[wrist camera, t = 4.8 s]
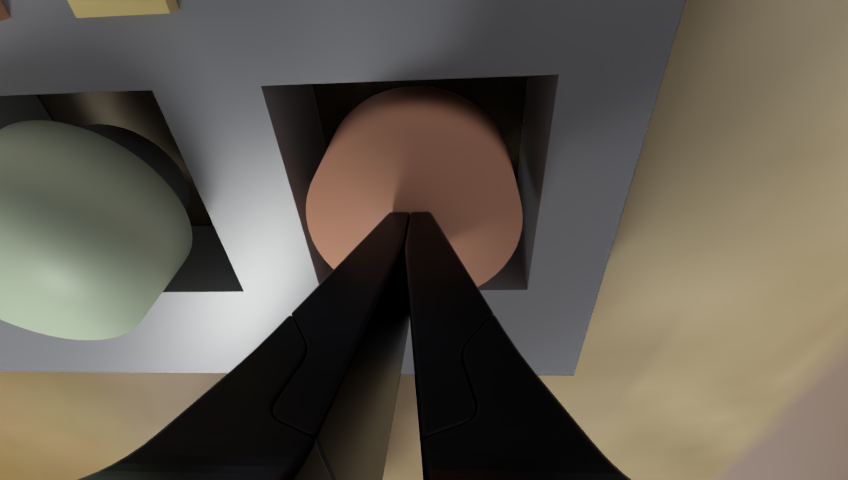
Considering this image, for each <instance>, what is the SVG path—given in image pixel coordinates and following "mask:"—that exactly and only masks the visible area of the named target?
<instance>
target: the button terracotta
mask: <svg viewBox="0 0 848 480" xmlns="http://www.w3.org/2000/svg"><path fill="white" fill-rule="evenodd" d="M425 211H428V212H431V213H432V215H433V216H434V218H435V220H436V221H437V223H438V224H439V226H440V228H441V229H442V231H443V233H444V234H445V236H446V237H447V239H448V241H449V242H450V244H451V245H452V247H453V249H454V250H455V252H456V253H457V255H458V257H459V258H460V260H461V261H462V263H463V265H464V266H465V268H466V270H467V271H468V273H469V274H470V276H471V278H472V279H473V281H474V282H475V284H476V286H477V287H479V286H480V285H482V284H484V283H485V282H487V281H488V280H489V279H491V278H492V277H493V276H495V275H496V274H497V273H498V272H499V271H500V270H501V269H502V268H503V267H504V266H505V264H506V263H507V262H508V260H509V259H510V258H511V256H512V254H513V253H514V251H515V249H516V247H517V244H518V241H519V239H520V235H521V230H522V221H523V213H522V205H521V200H520V196H519V192H518V188H517V184H516V180H515V175H514V171H513V167H512V163H511V159H510V155H509V152H508V148H507V145H506V142H505V140H504V138H503V136H502V134H501V132H500V130H499V129H498V127H497V126H496V124H495V123H494V122H493V121H492V119H491V118H490V117H489V116H488V115H487V114H486V113H485V112H484V111H483V110H481V109H480V108H479V107H478V106H477V105H475V104H474V103H472V102H470V101H469V100H467V99H466V98H464V97H461V96H459V95H457V94H455V93H452V92H449V91H446V90H442V89H438V88H432V87H425V86H409V87H399V88H395V89H391V90H387V91H384V92H381V93H379V94H376V95H374V96H372V97H370V98H368V99H367V100H365V101H363V102H362V103H360V104H359V105H358V106H356V107H355V108H354V109H353V110H352V111H351V112H350V113H349V114H348V115H347V116H346V117H345V118H344V119H343V121H342V122H341V124H340V125H339V126H338V128H337V130H336V132H335V134H334V136H333V138H332V140H331V142H330V144H329V146H328V148H327V151H326V153H325V155H324V157H323V159H322V161H321V163H320V165H319V167H318V169H317V171H316V174H315V176H314V178H313V180H312V182H311V184H310V188H309V191H308V194H307V201H306V220H307V225H308V230H309V232H310V235H311V238H312V241H313V242H314V244H315V246H316V248H317V250H318V251H319V253H320V254H321V256H322V257H323V258H324V260H325V261H326V262H327V263H328V264H329V265H330V266H331V267H332V268H333V269H335V268H336V267H337V266H338V265H339V264H340V263H341V262H342V261H343V260H344V259H345V258H346V257H347V255H348V254H349V253H350V252H351V251H352V250H353V249H354V248H355V247H356V246H357V245H358V244H359V243H360V242H361V241H362V240H363V239H364V238H365V237H366V236H367V235H368V234H369V233H370V232H371V231H372V230H373V229H374V228H375V227H376V226H377V225H378V224H379V223H380V222H381V220H382V219H383V218H384V217H385V216H386V215H387V214H388V213H390V212H408V213H409V214H411V213H412V212H425Z"/></svg>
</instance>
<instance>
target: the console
mask: <svg viewBox="0 0 848 480" xmlns="http://www.w3.org/2000/svg"><path fill="white" fill-rule="evenodd" d="M685 1H686V0H0V129H2V128H4V127H6V126H8V125H10V124H14V123H17V122H21V121H30V120H46V121H52V119H51V118H50V116H49V115H48V113H47V111H46V110H45V108H44V107H43V105H42V103H41V102H40V100H39V99H38V97H37V96H36V94H62V93H88V92H114V91H141V90H152V91H153V94H154V96H155V98H156V100H157V102H158V104H159V107H160V109H161V111H162V113H163V115H164V118H165V120H166V122H167V124H168V126H169V129H170V131H171V133H172V135H173V137H174V140H175V142H176V144H177V146H178V148H179V150H180V153H181V155H182V157H183V159H184V161H185V164H186V166H187V168H188V170H189V172H190V175H191V177H192V179H193V181H194V183H195V186H196V188H197V190H198V192H199V194H200V197H201V199H202V201H203V203H204V205H205V207H206V210H207V212H208V214H209V216H210V218H211V221H212V223H213V225H214V226H191V228H192V247H191V250H190V253H189V255H188V257H187V258H186V260H185V262H184V263H183V264H182V266H181V267H180V268H179V270H178V271H177V273H176V274H175V275H174V277H173V278H172V280H171V281H170V282H169V284H168V285H167V286H166V288H165V289H164V291H163V292H162V293H161V295H160V296H159V298H158V299H157V300H156V302H155V303H154V304H153V306H152V307H151V309H150V310H149V311H148V313H147V314H146V316H145V317H144V318H143V320H142V321H141V322H140V323H139V324H138V326H137V327H136V328H134V329H133V330H131V331H130V332H128V333H126V334H124V335H121V336H118V337H115V338H111V339H104V340H73V339H65V338H59V337H54V336H49V335H45V334H41V333H37V332H34V331H30V330H27V329H24V328H21V327H18V326H16V325H13V324H10V323H8V322H5V321H3V320H1V319H0V372H133V373H229V372H230V371H231V370H233V369H234V368H235V367H236V366H237V365H238V364H239V363H240V362H242V361H243V360H244V359H245V358H246V357H247V356H248V355H249V354H251V353H252V352H253V351H254V350H255V349H256V348H257V347H258V346H259V345H260V344H261V343H262V342H263V341H264V340H265V339H266V338H267V337H268V336H269V335H270V334H271V333H272V332H273V331H274V330H275V329H276V328H277V327H278V326H279V325H280V324H281V323H282V322H283V321H284V320H285V319H286V318H287V317H288V316H292V312H293V311H294V310H295V309H296V308H297V307H298V306H299V305H300V304H301V303H302V302H303V301H304V300H305V299H306V298H307V297H308V296H309V295H310V294H311V293H312V292H313V291H314V289H315V288H316V287H317V286H318V285H319V284H320V283H321V282H322V281H323V280H324V279H325V278H326V277H327V276H328V275H329V274H330V273H331V272H332V271H333V270H334V269H333V268H332V267H331V266H330V265H329V264H328V263H327V262H326V261H325V260H324V258H323V257H322V256H321V254H320V253H319V251H318V250H317V248H316V246H315V244H314V242H313V241H312V238H311V235H310V232H309V230H308V225H307V220H306V201H307V194H308V191H309V188H310V184H311V182H312V180H313V178H314V176H315V174H316V171H317V169H318V167H319V165H320V163H321V161H322V159H323V157H324V155H325V153H326V151H327V149H326V144H325V140H324V135H323V130H322V126H321V121H320V116H319V112H318V107H317V102H316V98H315V93H314V88H313V84H324V83H350V82H376V81H402V80H429V79H455V78H481V77H507V76H528V78H527V88H526V98H525V108H524V117H523V127H522V137H521V147H520V157H519V167H518V177H517V188H518V192H519V196H520V200H521V205H522V213H523V221H522V230H521V235H520V239H519V241H518V244H517V247H516V249H515V251H514V253H513V254H512V256H511V258H510V259H509V260H508V262H507V263H506V264H505V266H504V267H503V268H502V269H501V270H500V271H499V272H498V273H497V274H496V275H495V276H493V277H492V278H491V279H489V280H488V281H487V282H485V283H484V284H482V285H480V286H479V287H478V289H479V290H480V292H481V294H482V295H483V297H484V298H485V300H486V302H487V303H488V305H489V307H490V308H491V310H492V311H493V314H494V315H495V316H496V317H497V319H498V321H499V322H500V324H501V325H502V327H503V329H504V330H505V332H506V333H507V335H508V336H509V338H510V339H511V341H512V342H513V344H514V345H515V347H516V348H517V349H518V351H519V352H520V354H521V355H522V356H523V358H524V359H525V360H526V361H527V363H528V364H529V365H530V367H531V368H532V369H533V370H534V372H535V373H536V374H537V375H561V376H574V372H575V369H576V366H577V362H578V359H579V356H580V352H581V349H582V346H583V342H584V339H585V336H586V332H587V329H588V325H589V322H590V319H591V315H592V312H593V309H594V305H595V302H596V299H597V295H598V292H599V289H600V285H601V282H602V279H603V275H604V272H605V269H606V265H607V262H608V259H609V255H610V252H611V249H612V245H613V242H614V239H615V235H616V232H617V228H618V225H619V222H620V218H621V215H622V212H623V208H624V205H625V202H626V198H627V195H628V192H629V188H630V185H631V182H632V178H633V175H634V172H635V168H636V165H637V162H638V158H639V155H640V152H641V148H642V145H643V142H644V138H645V135H646V131H647V128H648V125H649V121H650V118H651V115H652V111H653V108H654V105H655V101H656V98H657V95H658V91H659V88H660V85H661V81H662V78H663V75H664V71H665V68H666V65H667V61H668V58H669V55H670V51H671V48H672V45H673V41H674V38H675V35H676V31H677V28H678V24H679V21H680V18H681V14H682V11H683V8H684V4H685ZM401 374H414V362H413V351H412V339H411V328H410V322H409V329H408V334H407V340H406V346H405V352H404V357H403V363H402V369H401Z"/></svg>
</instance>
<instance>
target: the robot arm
mask: <svg viewBox="0 0 848 480" xmlns="http://www.w3.org/2000/svg"><path fill="white" fill-rule="evenodd" d="M409 322H410V328H411V339H412V351H413V362H414V374H415V386H416V397H417V409H418V421H419V432H420V442H421V455H422V468H423V480H631V479H630V478H628V477H627V476H626V475H625V474H623V473H622V472H621V471H620V470H619V469H618V468H617V467H616V466H614V465H613V464H612V463H611V462H610V461H609V460H608V459H607V458H606V457H605V456H604V455H603V453H602V452H601V451H600V450H599V449H598V448H597V447H596V445H595V444H594V443H593V442H592V441H591V440H590V438H589V437H588V436H587V435H586V434H585V432H584V431H583V430H582V429H581V427H580V426H579V425H578V424H577V423H576V421H575V420H574V419H573V418H572V417H571V415H570V414H569V413H568V412H567V411H566V409H565V408H564V407H563V406H562V405H561V403H560V402H559V401H558V400H557V399H556V397H555V396H554V395H553V394H552V393H551V391H550V390H549V389H548V388H547V387H546V385H545V384H544V383H543V382H542V380H541V379H540V378H539V377H538V376H537V374H536V373H535V372H534V370H533V369H532V368H531V367H530V365H529V364H528V363H527V361H526V360H525V359H524V358H523V356H522V355H521V354H520V352H519V351H518V349H517V348H516V347H515V345H514V344H513V342H512V341H511V339H510V338H509V336H508V335H507V333H506V332H505V330H504V329H503V327H502V325H501V324H500V322H499V321H498V319H497V317H496V316H495V315H494V314H493V311H492V310H491V308H490V307H489V305H488V303H487V302H486V300H485V298H484V297H483V295H482V294H481V292H480V290H479V289H478V287H477V286H476V284H475V282H474V281H473V279H472V278H471V276H470V274H469V273H468V271H467V270H466V268H465V266H464V265H463V263H462V261H461V260H460V258H459V257H458V255H457V253H456V252H455V250H454V249H453V247H452V245H451V244H450V242H449V241H448V239H447V237H446V236H445V234H444V233H443V231H442V229H441V228H440V226H439V224H438V223H437V221H436V220H435V218H434V216H433V215H432V213H431V212H428V211H425V212H412V213H411V214H409V213H408V212H390V213H388V214H387V215H386V216H385V217H384V218H383V219H382V220H381V222H380V223H379V224H378V225H377V226H376V227H375V228H374V229H373V230H372V231H371V232H370V233H369V234H368V235H367V236H366V237H365V238H364V239H363V240H362V241H361V242H360V243H359V244H358V245H357V246H356V247H355V248H354V249H353V250H352V251H351V252H350V253H349V254H348V255H347V257H346V258H345V259H344V260H343V261H342V262H341V263H340V264H339V265H338V266H337V267H336V268H335V269H334V270H333V271H332V272H331V273H330V274H329V275H328V276H327V277H326V278H325V279H324V280H323V281H322V282H321V283H320V284H319V285H318V286H317V287H316V288H315V289H314V291H313V292H312V293H311V294H310V295H309V296H308V297H307V298H306V299H305V300H304V301H303V302H302V303H301V304H300V305H299V306H298V307H297V308H296V309H295V310H294V311H293V312H292V316H288V317H287V318H286V319H285V320H284V321H283V322H282V323H281V324H280V325H279V326H278V327H277V328H276V329H275V330H274V331H273V332H272V333H271V334H270V335H269V336H268V337H267V338H266V339H265V340H264V341H263V342H262V343H261V344H260V345H259V346H258V347H257V348H256V349H255V350H254V351H253V352H252V353H251V354H249V355H248V356H247V357H246V358H245V359H244V360H243V361H242V362H240V363H239V364H238V365H237V366H236V367H235V368H234V369H233V370H231V371H230V372H229V373H228V374H227V375H226V376H225V377H223V378H222V379H221V380H220V381H219V382H218V383H216V384H215V385H214V386H213V387H212V388H211V389H209V390H208V391H207V392H206V393H205V394H203V395H202V396H201V397H200V398H199V399H198V400H196V401H195V402H194V403H193V404H192V405H191V406H189V407H188V408H187V409H186V410H185V411H183V412H182V413H181V414H180V415H179V416H178V417H176V418H175V419H174V420H173V421H172V422H171V423H169V424H168V425H167V426H166V427H165V428H164V429H162V430H161V431H160V432H159V433H158V434H156V435H155V436H154V437H153V438H151V439H150V440H149V441H148V442H146V443H145V444H144V445H142V446H141V447H140V448H138V449H137V450H135V451H134V452H132V453H131V454H129V455H128V456H126V457H124V458H123V459H121V460H119V461H118V462H116V463H114V464H112V465H110V466H108V467H106V468H104V469H102V470H100V471H98V472H96V473H93V474H91V475H88V476H86V477H83V478H81V479H78V480H382V478H383V472H384V466H385V461H386V455H387V449H388V443H389V438H390V432H391V426H392V421H393V415H394V409H395V403H396V398H397V392H398V386H399V380H400V375H401V369H402V363H403V357H404V352H405V346H406V340H407V334H408V329H409Z"/></svg>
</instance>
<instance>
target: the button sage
mask: <svg viewBox="0 0 848 480" xmlns="http://www.w3.org/2000/svg"><path fill="white" fill-rule="evenodd" d="M189 200H190V194H189V188H188V184H187V182H186V179H185V177H184V175H183V173H182V172H181V170H180V169H179V167H178V166H177V164H176V163H175V162H174V161H173V160H172V159H171V157H170V156H168V155H167V154H166V153H165V152H164V151H163V150H162V149H161V148H160V147H158V146H157V145H156V144H154V143H153V142H151V141H150V140H148V139H146V138H145V137H143V136H141V135H139V134H137V133H135V132H133V131H130V130H127V129H125V128H121V127H117V126H112V125H104V124H96V125H89V126H85V127H82V128H81V127H77V126H73V125H70V124H66V123H61V122H54V121H46V120H30V121H21V122H17V123H14V124H10V125H8V126H6V127H4V128H2V129H0V319H1V320H3V321H5V322H8V323H10V324H13V325H16V326H18V327H21V328H24V329H27V330H30V331H34V332H37V333H41V334H45V335H49V336H54V337H59V338H65V339H73V340H104V339H111V338H115V337H118V336H121V335H124V334H126V333H128V332H130V331H131V330H133V329H134V328H136V327H137V326H138V324H139V323H140V322H141V321H142V320H143V318H144V317H145V316H146V314H147V313H148V311H149V310H150V309H151V307H152V306H153V304H154V303H155V302H156V300H157V299H158V298H159V296H160V295H161V293H162V292H163V291H164V289H165V288H166V286H167V285H168V284H169V282H170V281H171V280H172V278H173V277H174V275H175V274H176V273H177V271H178V270H179V268H180V267H181V266H182V264H183V263H184V262H185V260H186V258H187V257H188V255H189V253H190V250H191V247H192V228H191V224H190V220H189V218H188V215H187V213H186V210H187V209H188V205H189Z"/></svg>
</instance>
